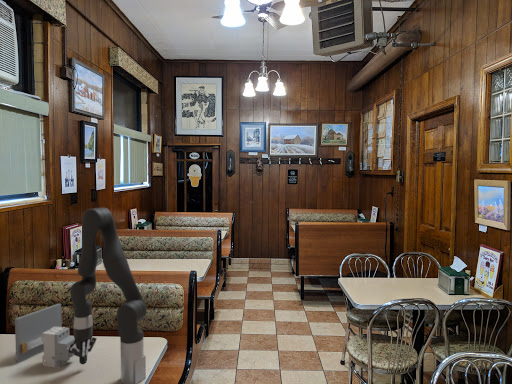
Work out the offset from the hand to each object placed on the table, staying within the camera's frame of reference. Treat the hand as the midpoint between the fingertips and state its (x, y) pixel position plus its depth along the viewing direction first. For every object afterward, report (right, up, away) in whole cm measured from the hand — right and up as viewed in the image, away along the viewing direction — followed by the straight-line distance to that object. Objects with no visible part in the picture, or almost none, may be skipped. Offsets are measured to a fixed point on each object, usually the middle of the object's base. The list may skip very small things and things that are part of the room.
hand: (83, 363), depth 163 cm
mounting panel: (-29, -2, +17) cm, 33 cm away
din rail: (-27, +2, +16) cm, 31 cm away
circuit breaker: (-12, -3, +6) cm, 14 cm away
